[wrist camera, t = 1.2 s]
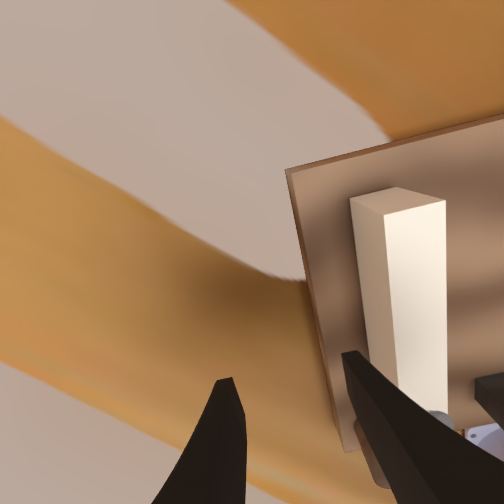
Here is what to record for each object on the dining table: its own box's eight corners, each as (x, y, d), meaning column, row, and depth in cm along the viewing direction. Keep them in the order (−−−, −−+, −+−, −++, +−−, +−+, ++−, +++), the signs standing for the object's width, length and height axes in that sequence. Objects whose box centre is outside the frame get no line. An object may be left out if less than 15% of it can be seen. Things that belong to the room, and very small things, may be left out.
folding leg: (415, 390, 20) (454, 445, 17) (369, 399, 20) (398, 456, 17) (402, 185, 15) (454, 198, 12) (342, 199, 15) (375, 217, 12)
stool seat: (597, 370, 24) (706, 439, 18) (335, 424, 25) (362, 504, 19) (664, 72, 16) (885, 33, 11) (284, 169, 18) (304, 180, 12)
